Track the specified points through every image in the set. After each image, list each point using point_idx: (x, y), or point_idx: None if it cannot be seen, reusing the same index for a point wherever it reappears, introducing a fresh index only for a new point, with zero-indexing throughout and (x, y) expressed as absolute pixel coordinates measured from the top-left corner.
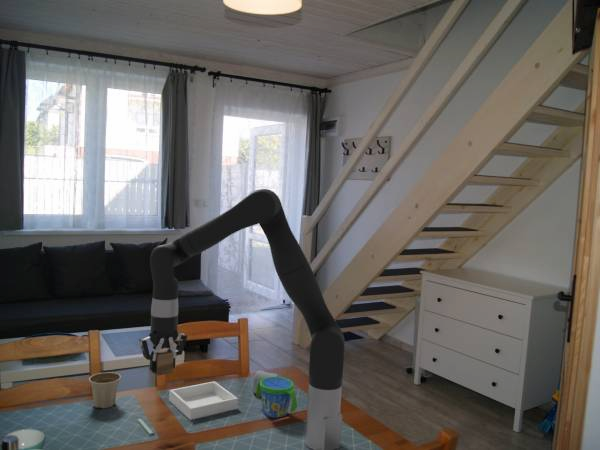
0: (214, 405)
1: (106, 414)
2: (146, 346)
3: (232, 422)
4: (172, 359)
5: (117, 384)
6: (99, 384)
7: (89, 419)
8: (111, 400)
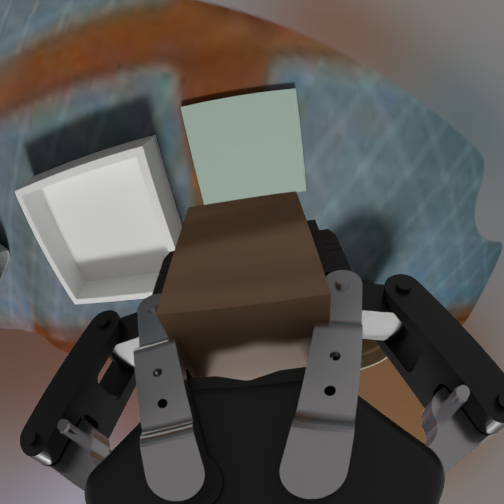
0: (71, 166)
1: (362, 250)
2: (469, 370)
3: (49, 108)
4: (176, 266)
5: None
6: None
7: (401, 238)
8: None
